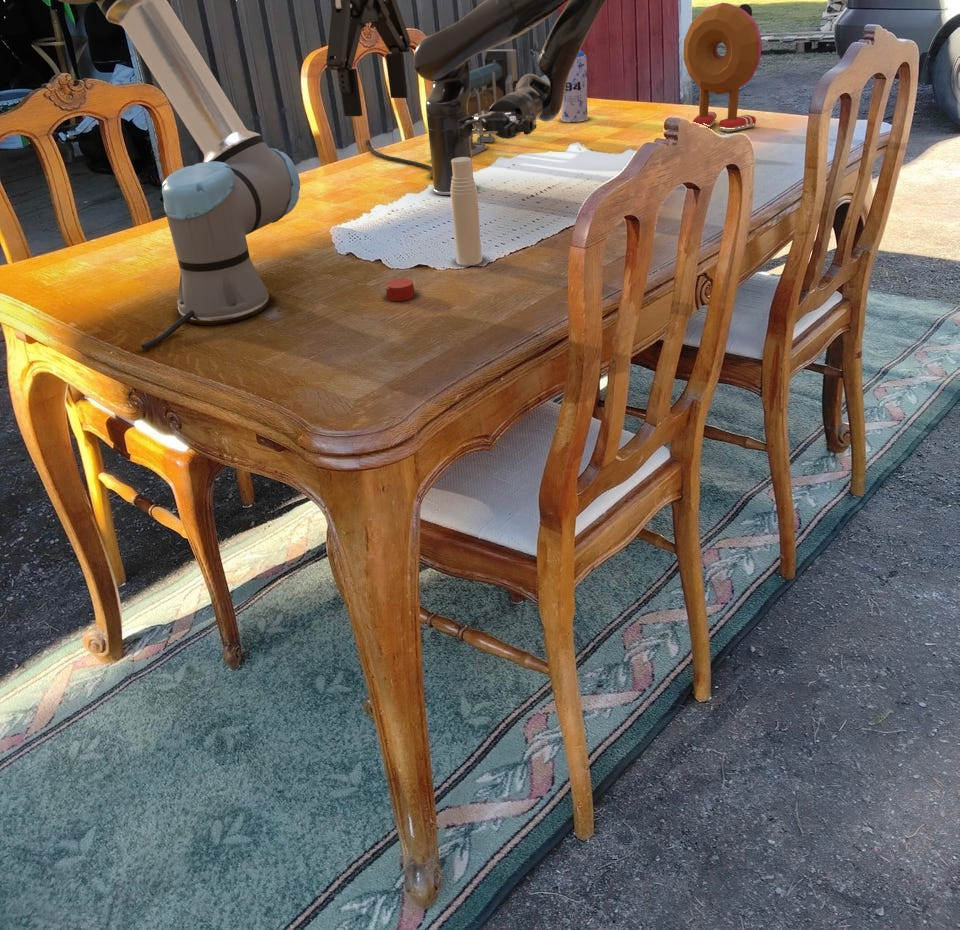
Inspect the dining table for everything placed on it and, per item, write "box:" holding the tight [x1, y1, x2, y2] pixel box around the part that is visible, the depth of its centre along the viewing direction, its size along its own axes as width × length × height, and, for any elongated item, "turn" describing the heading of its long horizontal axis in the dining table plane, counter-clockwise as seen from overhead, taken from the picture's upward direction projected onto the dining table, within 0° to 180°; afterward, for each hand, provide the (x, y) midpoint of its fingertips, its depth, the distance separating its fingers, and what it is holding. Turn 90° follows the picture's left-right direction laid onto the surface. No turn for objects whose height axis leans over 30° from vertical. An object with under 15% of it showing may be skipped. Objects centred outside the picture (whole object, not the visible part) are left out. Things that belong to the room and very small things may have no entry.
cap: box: [385, 277, 415, 302], centre depth 164 cm, size 5×5×2 cm
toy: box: [682, 2, 763, 133], centre depth 248 cm, size 21×10×30 cm, turn 47°
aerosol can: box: [560, 49, 589, 123], centre depth 273 cm, size 8×8×20 cm
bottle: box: [450, 157, 483, 267], centre depth 173 cm, size 5×5×18 cm
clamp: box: [468, 48, 519, 157], centre depth 252 cm, size 35×9×21 cm, turn 151°
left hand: (377, 106), depth 149 cm, fingers open, 13 cm apart
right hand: (484, 133), depth 177 cm, fingers open, 8 cm apart
